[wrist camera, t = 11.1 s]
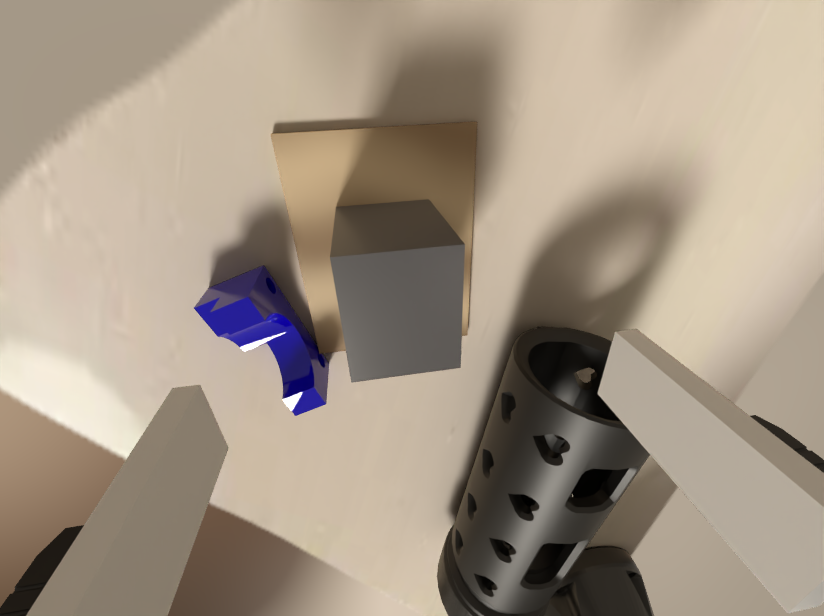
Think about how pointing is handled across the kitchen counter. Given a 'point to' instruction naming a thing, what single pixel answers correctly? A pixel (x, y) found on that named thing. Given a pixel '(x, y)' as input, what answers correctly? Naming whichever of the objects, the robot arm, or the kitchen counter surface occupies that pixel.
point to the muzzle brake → (537, 479)
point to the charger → (398, 288)
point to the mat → (370, 194)
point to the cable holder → (269, 333)
